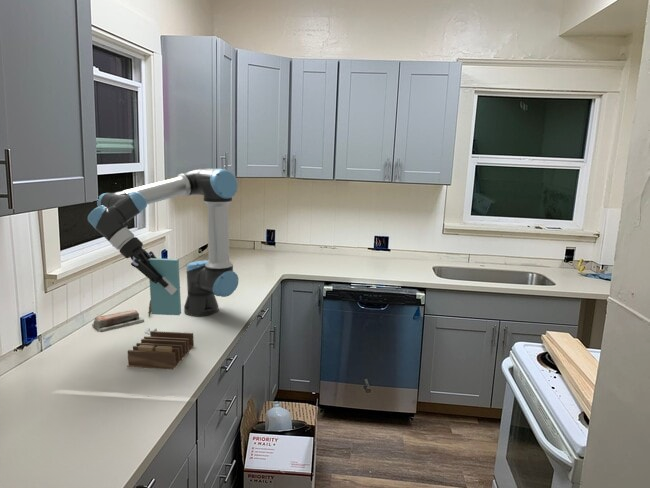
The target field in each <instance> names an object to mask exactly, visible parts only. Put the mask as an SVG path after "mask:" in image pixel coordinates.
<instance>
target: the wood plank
mask: <svg viewBox="0 0 650 488" xmlns="http://www.w3.org/2000/svg"><path fill="white" fill-rule="evenodd" d="M147 314H148V317H150V315H152V312H151V299H150V300H149V305H148V312H147Z"/></svg>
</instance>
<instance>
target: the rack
mask: <svg viewBox="0 0 650 488" xmlns="http://www.w3.org/2000/svg"><path fill="white" fill-rule="evenodd" d="M150 331H151V330H150ZM194 343H195V342H194V333H193V332H179V331H178V332H176V331H175V332H174V331H160V330H159V331H158V330H157V331H151V332H150V336H143V338H141V339H140V342H136V345H133V346H132V349H131V350H130V349H128V350H127V363H128V364H127V366H126V367H127V368H138V369H139V368H140V369H141V368H143V369H157V370H159V369H160V370H162V369H163V370H174V369H175V368H176V367H177V366H178V365H179V364H180V363H181V361H182V360H184V358H185V357H186V355H187V354H188V353H190V351H191V350H192V348H194V346H195V345H194ZM140 345H152V346H155V348H156V347H157V346H171V347H172V352H155V351H138V347H139V346H140Z"/></svg>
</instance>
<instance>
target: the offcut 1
mask: <svg viewBox="0 0 650 488" xmlns="http://www.w3.org/2000/svg"><path fill="white" fill-rule="evenodd" d="M138 351H155V346H152V345H140V346H139V347H138Z"/></svg>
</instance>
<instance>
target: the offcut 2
mask: <svg viewBox="0 0 650 488" xmlns="http://www.w3.org/2000/svg"><path fill="white" fill-rule="evenodd" d="M155 352H172V347H171V346H157V347H156V348H155Z"/></svg>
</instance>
